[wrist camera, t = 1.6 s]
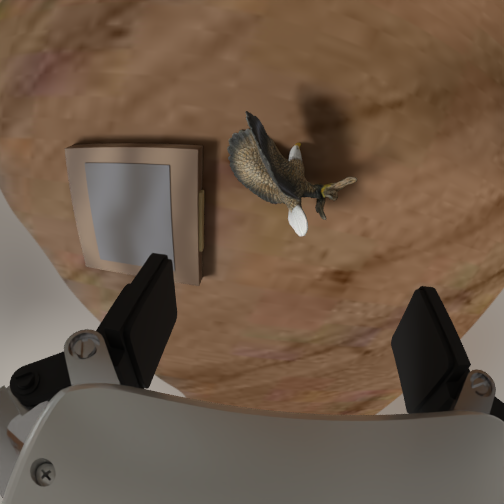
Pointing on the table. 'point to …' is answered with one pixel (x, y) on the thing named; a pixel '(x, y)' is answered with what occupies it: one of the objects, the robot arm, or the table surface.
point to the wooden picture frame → (139, 205)
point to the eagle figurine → (277, 173)
